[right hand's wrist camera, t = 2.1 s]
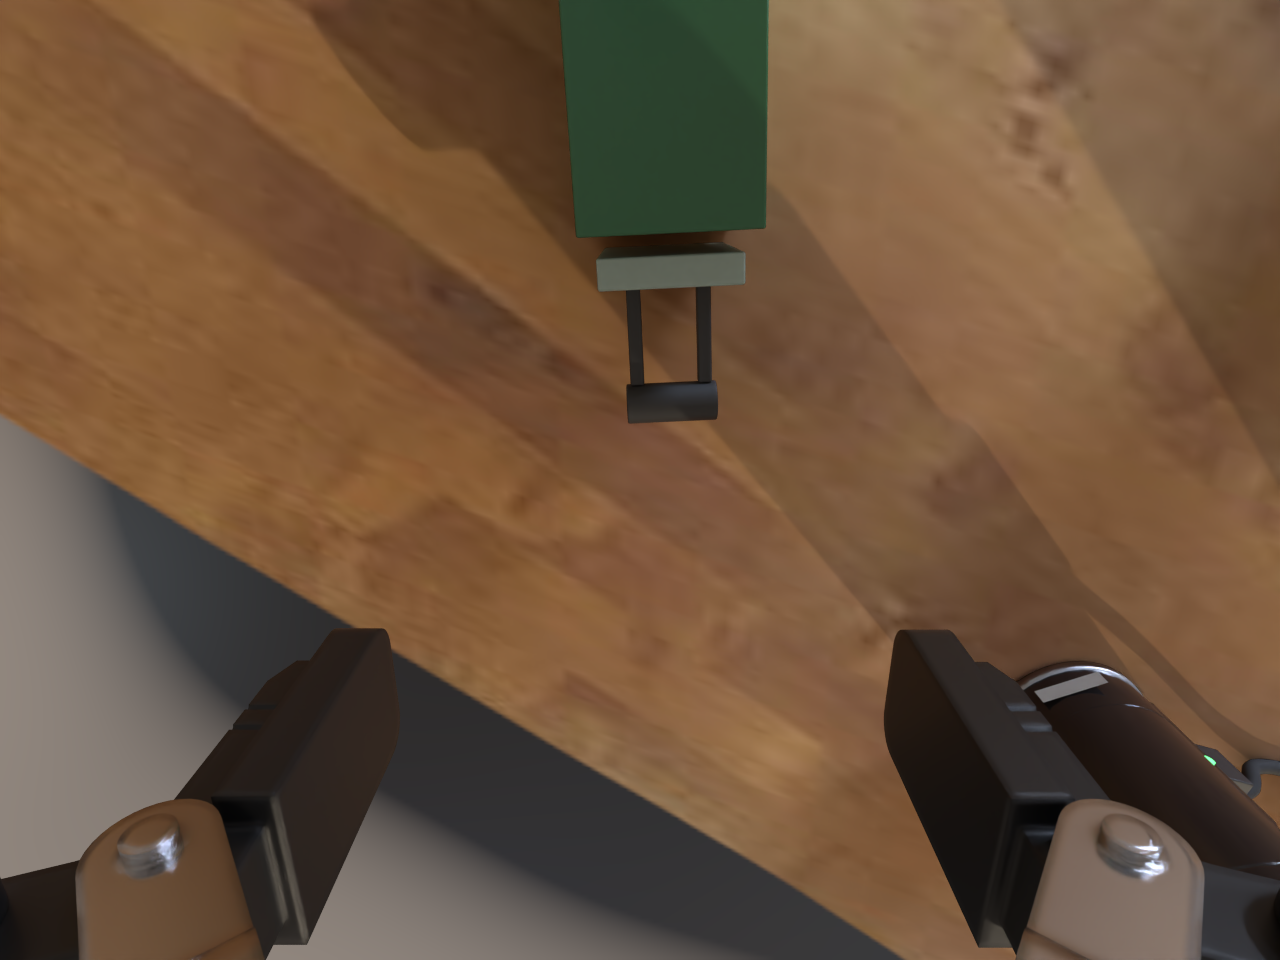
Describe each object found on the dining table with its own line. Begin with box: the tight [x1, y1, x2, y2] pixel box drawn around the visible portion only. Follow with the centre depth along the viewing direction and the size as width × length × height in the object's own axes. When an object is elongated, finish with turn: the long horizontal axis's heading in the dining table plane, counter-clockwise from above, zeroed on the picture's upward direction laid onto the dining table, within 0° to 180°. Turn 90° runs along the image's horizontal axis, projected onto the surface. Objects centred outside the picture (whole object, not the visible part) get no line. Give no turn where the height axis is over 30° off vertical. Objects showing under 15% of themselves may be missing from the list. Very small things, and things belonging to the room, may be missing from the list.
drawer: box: [596, 242, 745, 423], centre depth 29 cm, size 26×6×7 cm, turn 3°
